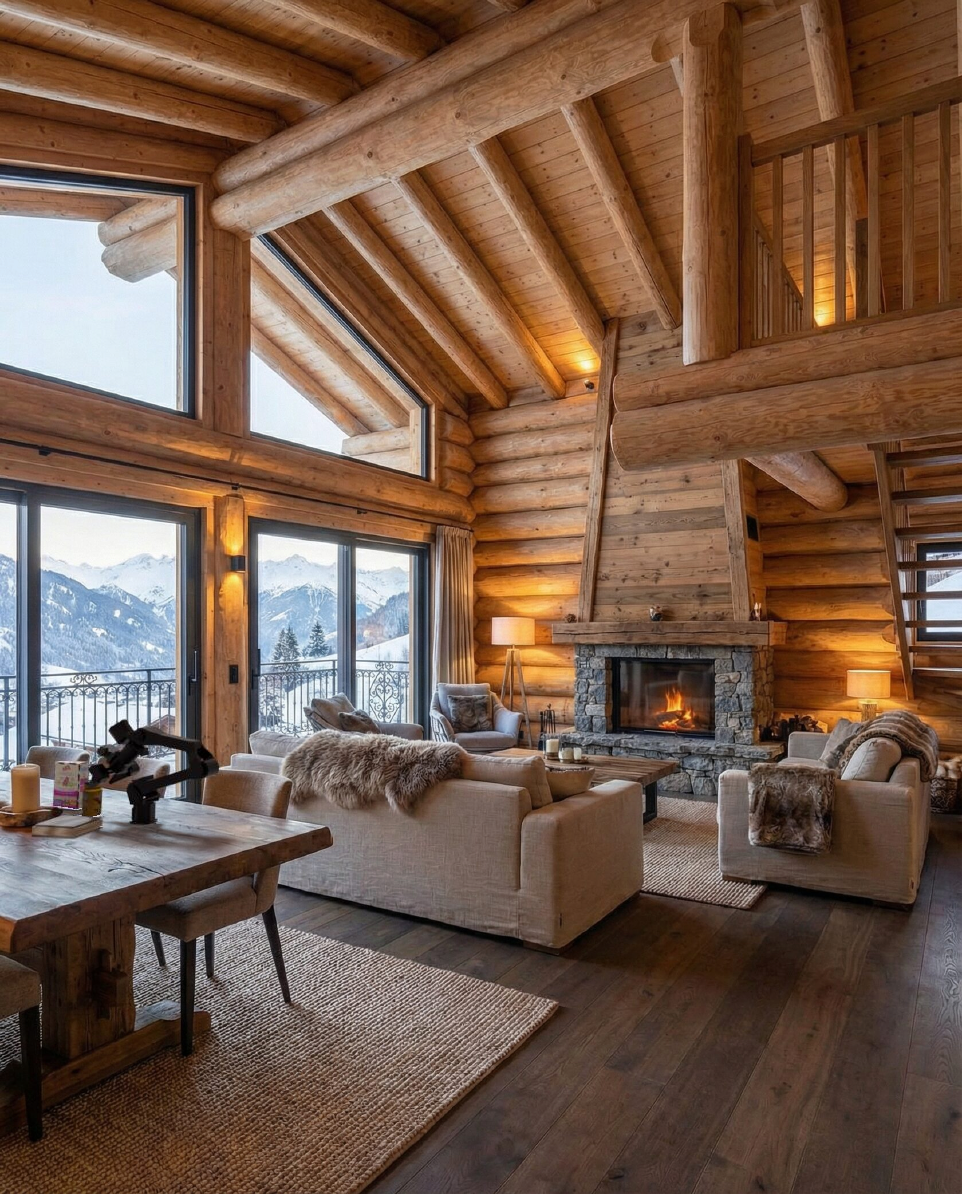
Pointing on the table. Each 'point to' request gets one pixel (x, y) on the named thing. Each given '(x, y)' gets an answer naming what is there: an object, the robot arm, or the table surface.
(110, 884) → the table surface
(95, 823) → the birch base
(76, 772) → the candy bar box
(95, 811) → the condiment
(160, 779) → the robot arm
